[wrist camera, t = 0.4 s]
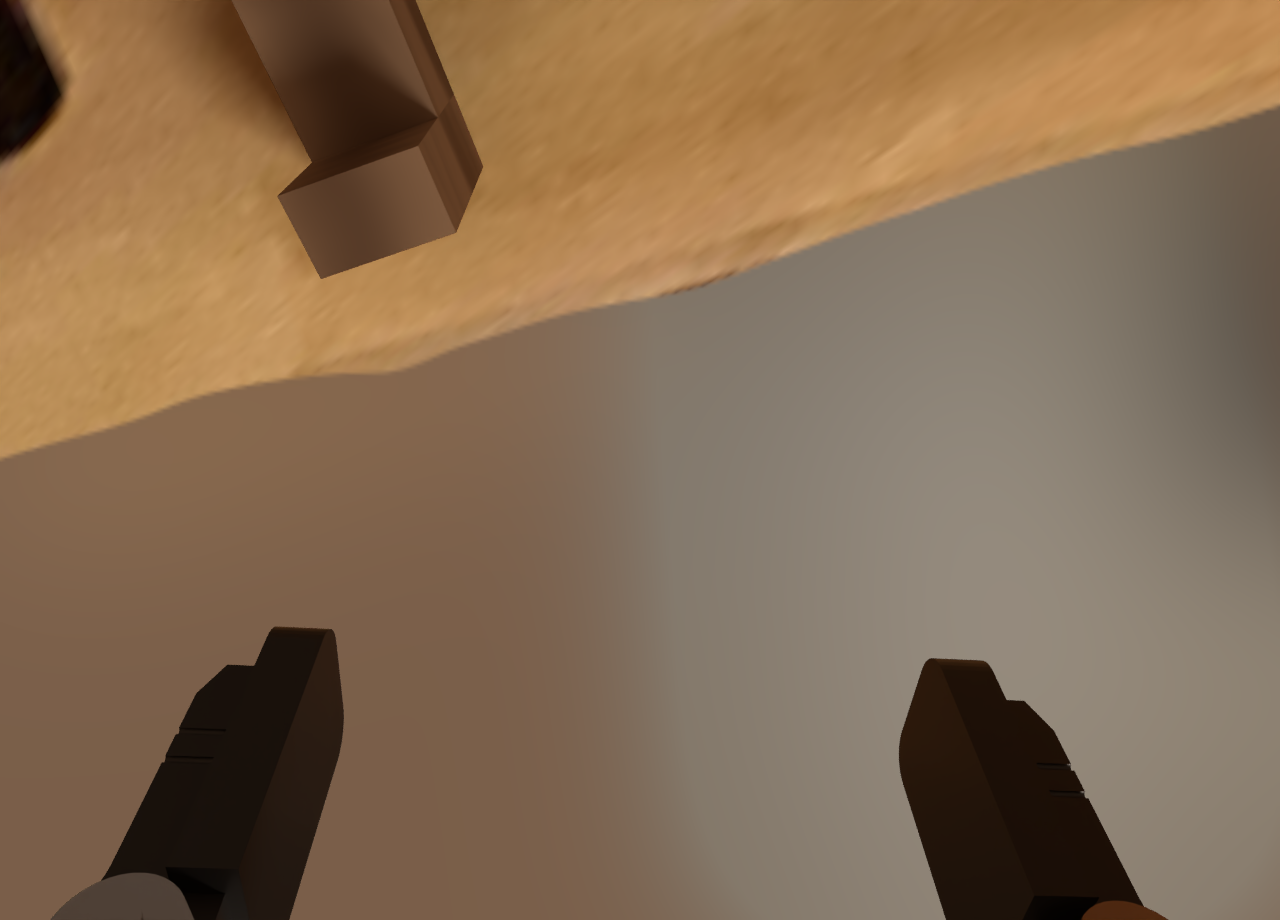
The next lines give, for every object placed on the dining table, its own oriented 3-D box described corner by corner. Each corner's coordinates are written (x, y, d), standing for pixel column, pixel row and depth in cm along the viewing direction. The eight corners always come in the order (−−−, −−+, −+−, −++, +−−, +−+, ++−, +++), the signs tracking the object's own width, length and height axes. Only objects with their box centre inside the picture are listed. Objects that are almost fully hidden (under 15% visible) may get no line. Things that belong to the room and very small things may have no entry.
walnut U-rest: (323, -225, 33) (241, -260, 25) (483, 166, 40) (456, 232, 32) (194, -171, 34) (75, -189, 26) (373, 204, 41) (320, 279, 33)
